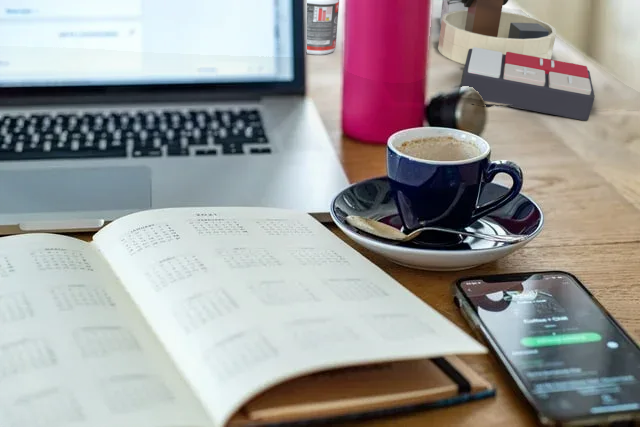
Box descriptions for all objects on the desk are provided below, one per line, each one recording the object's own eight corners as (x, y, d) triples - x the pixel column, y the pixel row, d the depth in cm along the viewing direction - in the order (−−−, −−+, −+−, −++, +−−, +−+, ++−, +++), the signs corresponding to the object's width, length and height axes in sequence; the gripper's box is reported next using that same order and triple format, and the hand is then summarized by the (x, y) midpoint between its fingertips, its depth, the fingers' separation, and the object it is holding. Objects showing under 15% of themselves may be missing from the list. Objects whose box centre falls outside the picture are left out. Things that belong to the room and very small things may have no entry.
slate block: (533, 51, 122) (538, 23, 120) (543, 60, 119) (549, 31, 117) (505, 51, 121) (510, 22, 120) (515, 59, 118) (520, 30, 116)
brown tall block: (487, 43, 120) (502, -48, 115) (495, 50, 117) (510, -42, 112) (462, 42, 120) (476, -49, 114) (469, 49, 116) (483, -44, 111)
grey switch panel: (597, 91, 99) (464, 66, 101) (587, 126, 101) (456, 101, 103) (591, 63, 108) (470, 41, 110) (582, 96, 110) (463, 74, 112)
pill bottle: (341, 54, 117) (348, -21, 112) (301, 56, 115) (307, -21, 110) (325, 42, 121) (331, -31, 117) (286, 44, 119) (291, -31, 115)
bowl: (528, 46, 127) (534, 12, 125) (564, 79, 114) (572, 42, 112) (427, 42, 125) (431, 7, 123) (452, 75, 112) (457, 36, 110)
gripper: (580, -102, 103) (528, -20, 120) (464, -110, 102) (427, -25, 118) (588, -47, 101) (534, 29, 117) (469, -54, 99) (431, 24, 115)
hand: (481, 1), depth 117 cm, fingers closed on brown tall block, 3 cm apart
